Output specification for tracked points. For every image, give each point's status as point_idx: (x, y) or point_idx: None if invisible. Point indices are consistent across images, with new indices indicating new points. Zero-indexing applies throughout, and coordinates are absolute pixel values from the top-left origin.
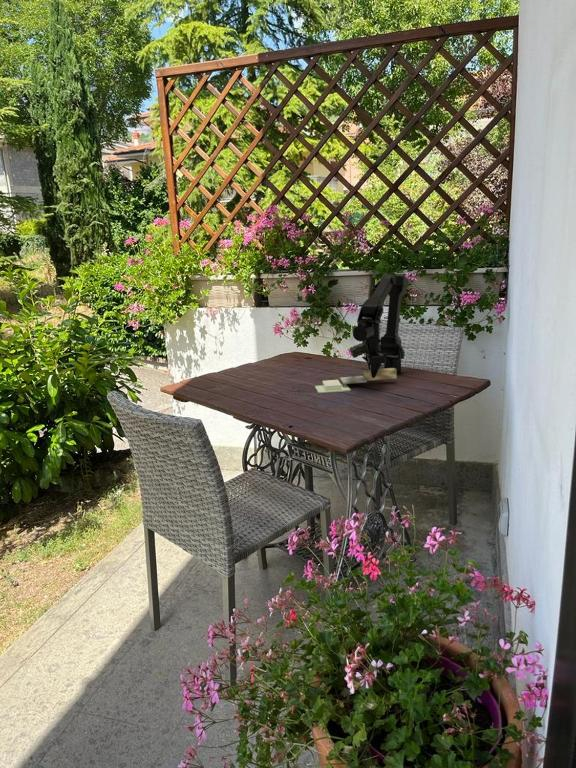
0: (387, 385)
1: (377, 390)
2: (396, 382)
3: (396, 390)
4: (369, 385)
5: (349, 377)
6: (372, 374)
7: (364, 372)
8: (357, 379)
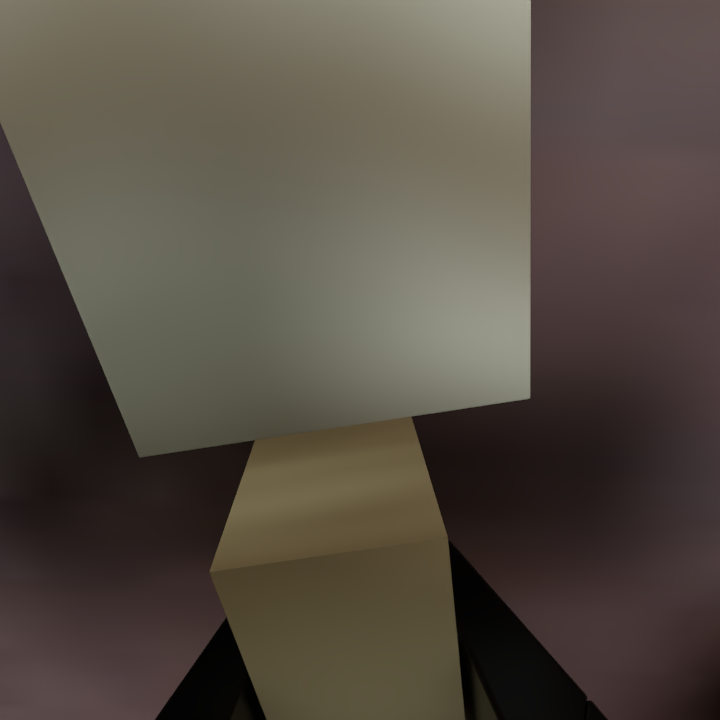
0: None
1: (2, 515)
2: None
3: (43, 684)
4: None
5: (456, 35)
6: (223, 638)
7: (359, 508)
8: (220, 263)
